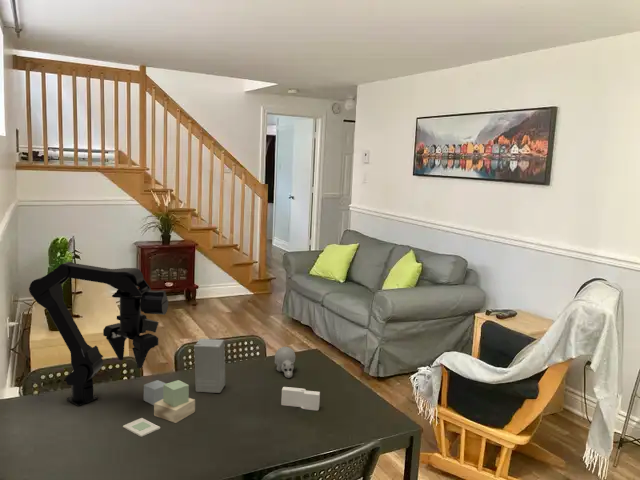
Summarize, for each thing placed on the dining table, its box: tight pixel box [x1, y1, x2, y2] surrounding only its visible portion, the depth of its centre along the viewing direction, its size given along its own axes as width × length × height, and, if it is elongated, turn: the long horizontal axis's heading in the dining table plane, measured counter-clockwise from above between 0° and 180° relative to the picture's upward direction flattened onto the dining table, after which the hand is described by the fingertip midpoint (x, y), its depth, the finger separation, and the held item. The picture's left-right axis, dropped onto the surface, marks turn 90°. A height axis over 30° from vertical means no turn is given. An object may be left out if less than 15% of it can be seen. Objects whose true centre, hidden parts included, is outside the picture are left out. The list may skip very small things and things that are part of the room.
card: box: [122, 417, 161, 437], centre depth 144 cm, size 8×6×1 cm
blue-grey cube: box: [143, 379, 167, 406], centre depth 161 cm, size 5×5×5 cm
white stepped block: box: [280, 386, 321, 411], centre depth 161 cm, size 15×11×6 cm
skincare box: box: [193, 338, 226, 394], centre depth 169 cm, size 8×7×16 cm
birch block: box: [153, 397, 196, 424], centre depth 153 cm, size 8×8×4 cm
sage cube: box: [163, 379, 190, 407], centre depth 152 cm, size 5×5×5 cm
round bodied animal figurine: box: [274, 346, 296, 379], centre depth 186 cm, size 7×12×8 cm, turn 13°
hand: (130, 364), depth 157 cm, fingers open, 9 cm apart
